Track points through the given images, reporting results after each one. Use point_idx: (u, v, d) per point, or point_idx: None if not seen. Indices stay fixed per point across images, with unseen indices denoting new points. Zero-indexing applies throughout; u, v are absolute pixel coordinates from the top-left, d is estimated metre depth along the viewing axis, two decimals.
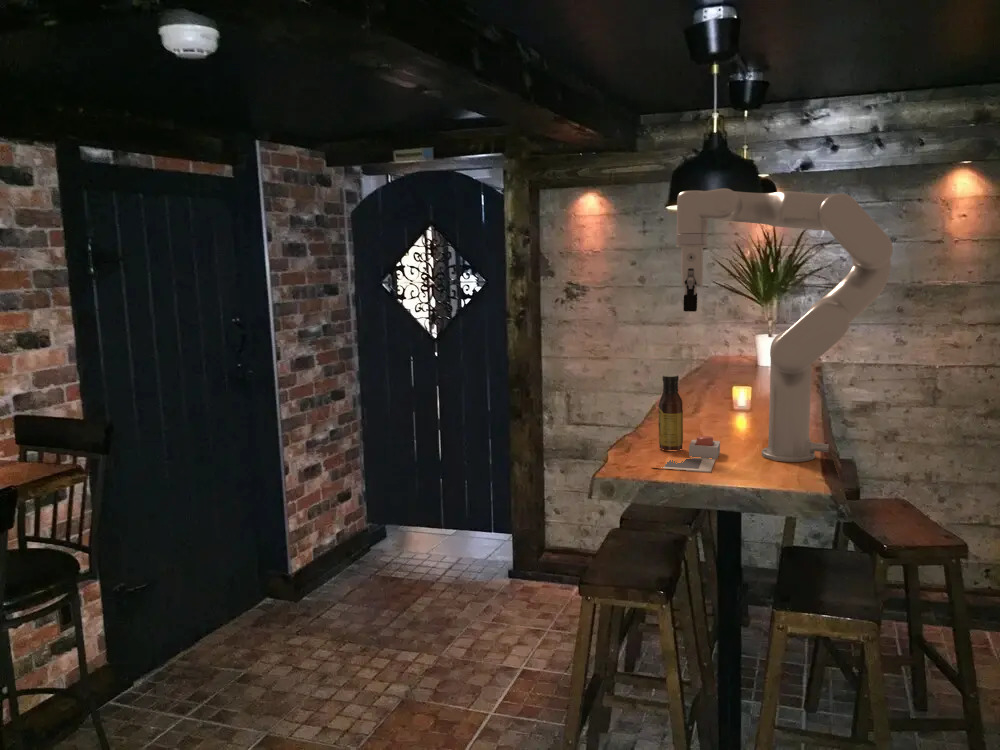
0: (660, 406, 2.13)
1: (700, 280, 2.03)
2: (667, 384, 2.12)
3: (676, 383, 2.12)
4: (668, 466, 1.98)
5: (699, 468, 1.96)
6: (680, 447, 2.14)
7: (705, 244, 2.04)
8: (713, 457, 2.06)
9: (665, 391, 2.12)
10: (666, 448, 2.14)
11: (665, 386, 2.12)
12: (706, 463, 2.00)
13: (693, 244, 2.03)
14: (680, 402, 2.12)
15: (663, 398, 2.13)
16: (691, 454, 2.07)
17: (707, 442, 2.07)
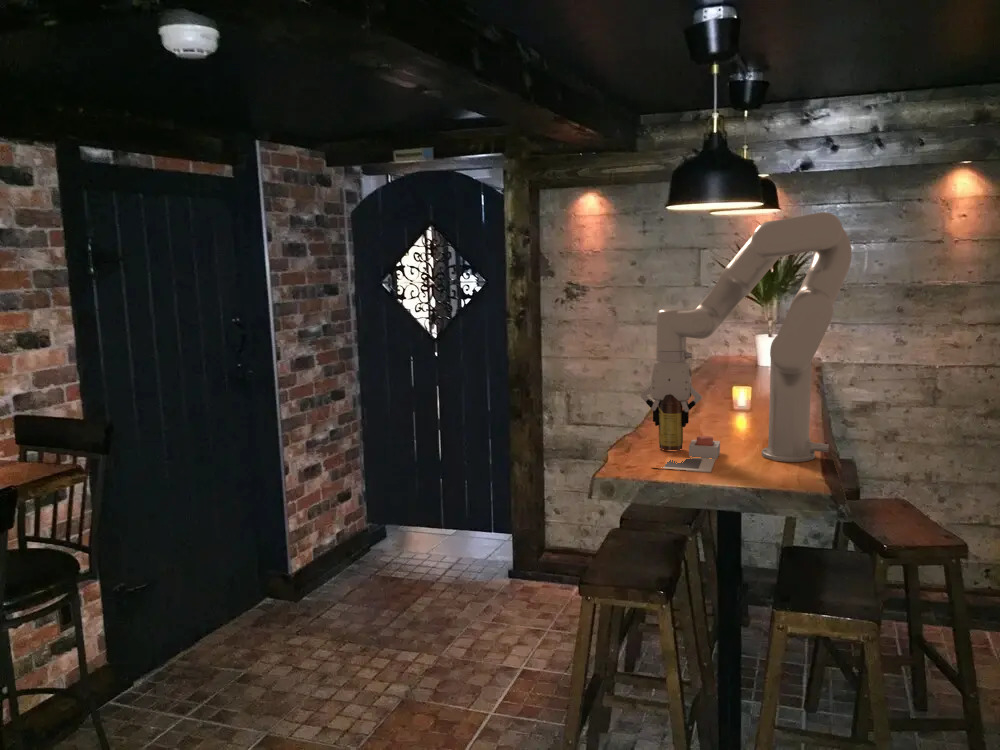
0: (660, 406, 2.13)
1: None
2: None
3: None
4: (668, 466, 1.98)
5: (699, 468, 1.96)
6: (680, 447, 2.14)
7: None
8: (713, 457, 2.06)
9: None
10: (666, 448, 2.14)
11: None
12: (706, 463, 2.00)
13: None
14: (680, 402, 2.12)
15: None
16: (691, 454, 2.07)
17: (707, 442, 2.07)
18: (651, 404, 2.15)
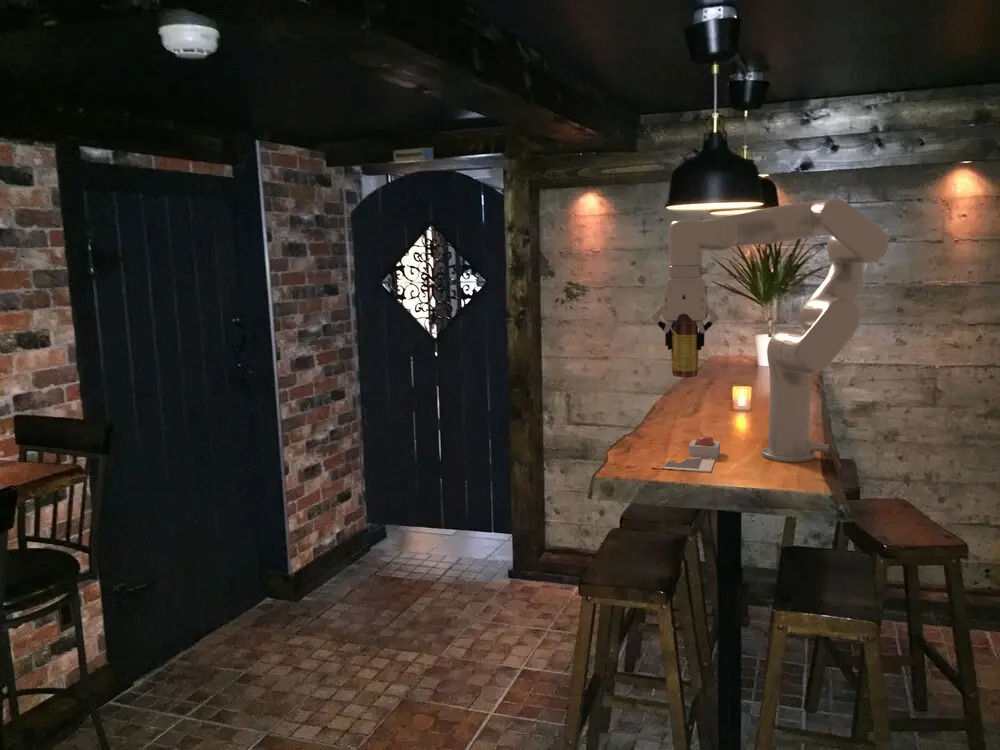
0: (673, 327, 1.95)
1: None
2: None
3: None
4: (668, 466, 1.98)
5: (699, 468, 1.96)
6: (695, 372, 1.96)
7: None
8: (713, 457, 2.06)
9: None
10: (680, 373, 1.96)
11: None
12: (706, 463, 2.00)
13: (701, 276, 1.94)
14: (695, 322, 1.94)
15: None
16: (691, 454, 2.07)
17: (707, 442, 2.07)
18: (663, 326, 1.97)
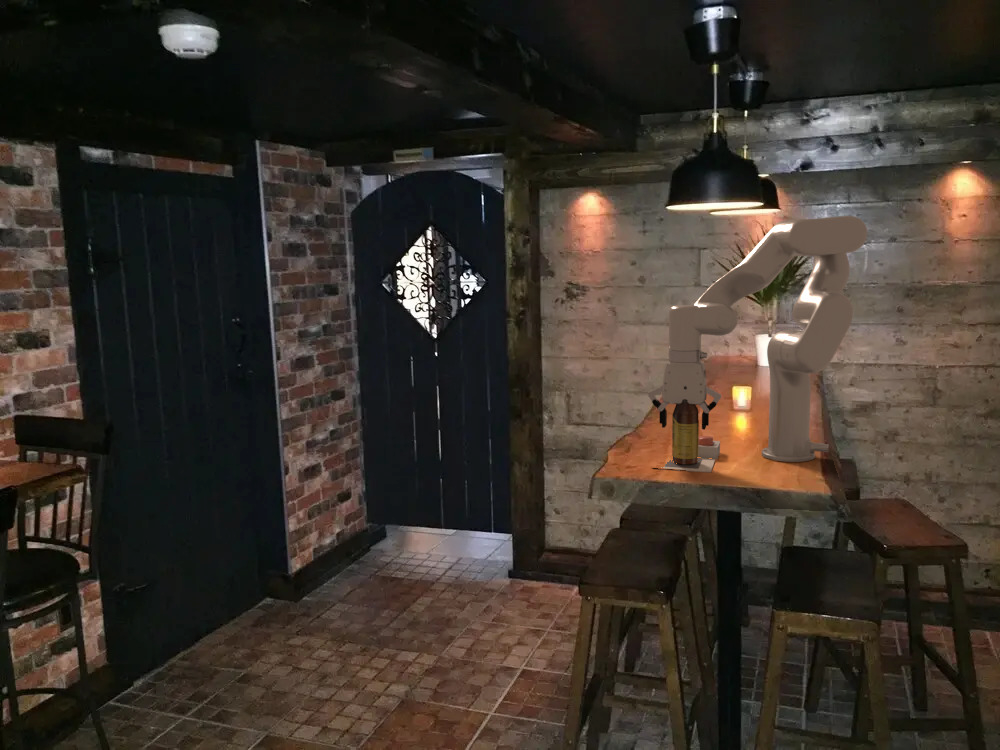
0: (674, 416, 1.98)
1: None
2: None
3: None
4: (668, 466, 1.98)
5: (699, 468, 1.96)
6: (695, 460, 1.99)
7: None
8: (713, 457, 2.06)
9: None
10: (680, 460, 1.99)
11: None
12: (706, 463, 2.00)
13: (700, 360, 1.97)
14: (696, 412, 1.97)
15: (678, 407, 1.98)
16: None
17: (707, 442, 2.07)
18: (659, 404, 2.00)
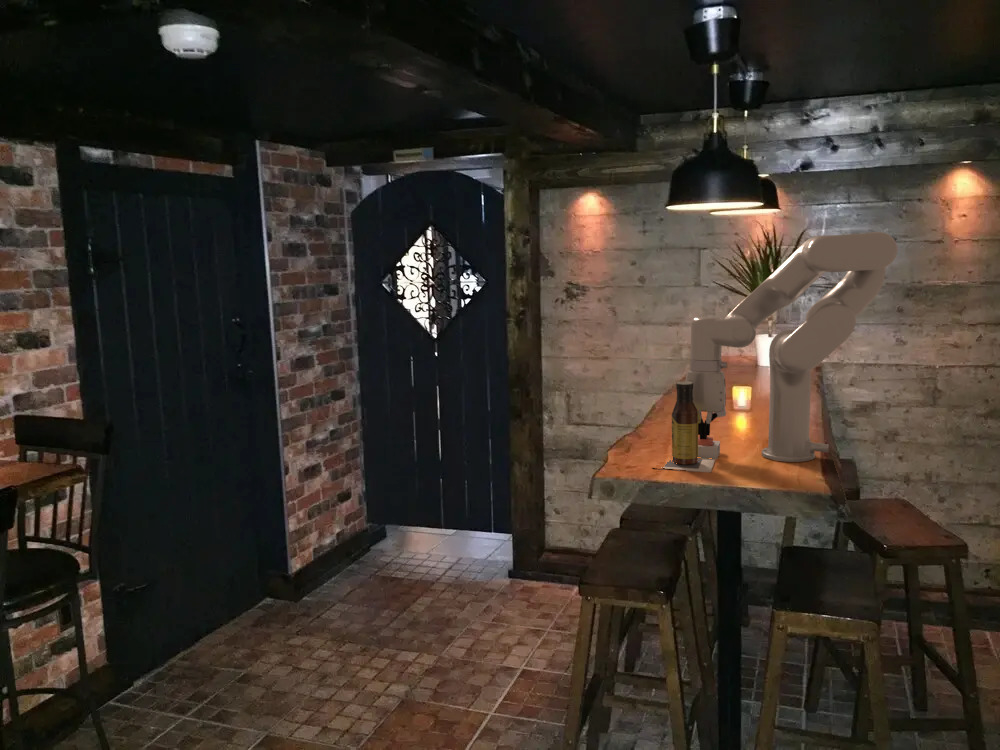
0: (673, 416, 1.99)
1: None
2: (681, 392, 1.97)
3: (691, 391, 1.97)
4: (668, 466, 1.98)
5: (699, 468, 1.96)
6: (695, 460, 1.99)
7: None
8: (713, 457, 2.06)
9: (679, 400, 1.98)
10: (680, 461, 1.99)
11: (679, 394, 1.98)
12: (706, 463, 2.00)
13: (720, 369, 2.06)
14: (695, 412, 1.97)
15: (677, 407, 1.98)
16: None
17: (707, 442, 2.07)
18: None
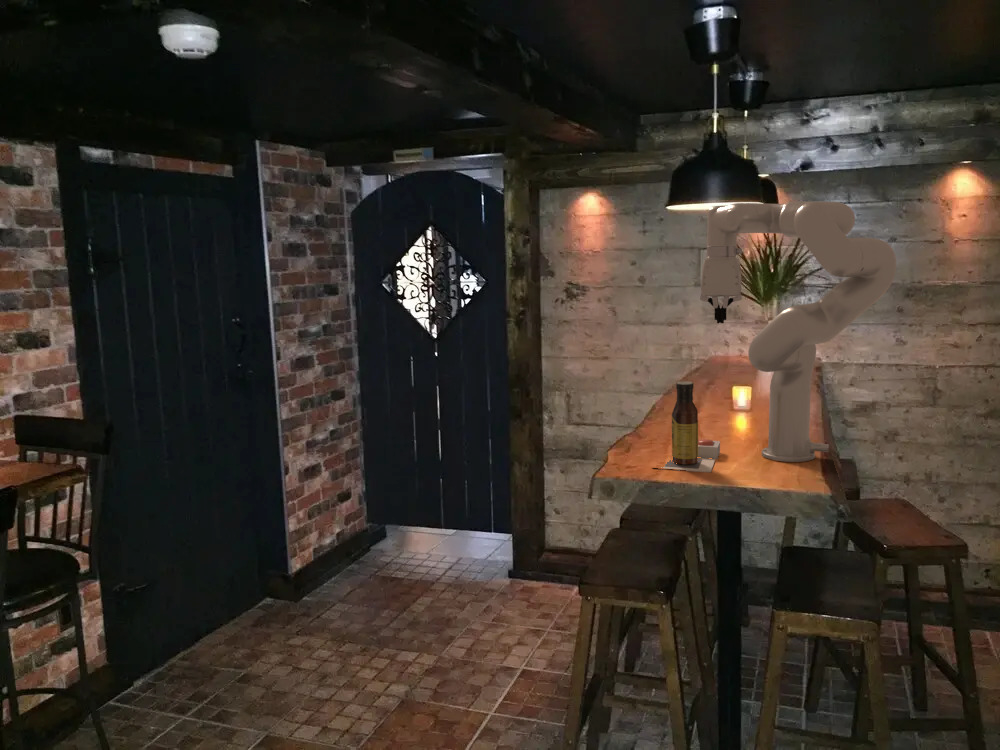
0: (674, 416, 1.99)
1: None
2: (681, 392, 1.97)
3: (691, 391, 1.97)
4: (668, 466, 1.98)
5: (699, 468, 1.96)
6: (695, 460, 1.99)
7: None
8: (713, 457, 2.06)
9: (679, 400, 1.98)
10: (680, 461, 1.99)
11: (679, 394, 1.98)
12: (706, 463, 2.00)
13: None
14: (695, 412, 1.97)
15: (677, 407, 1.98)
16: None
17: (707, 445, 2.08)
18: (711, 304, 2.20)
